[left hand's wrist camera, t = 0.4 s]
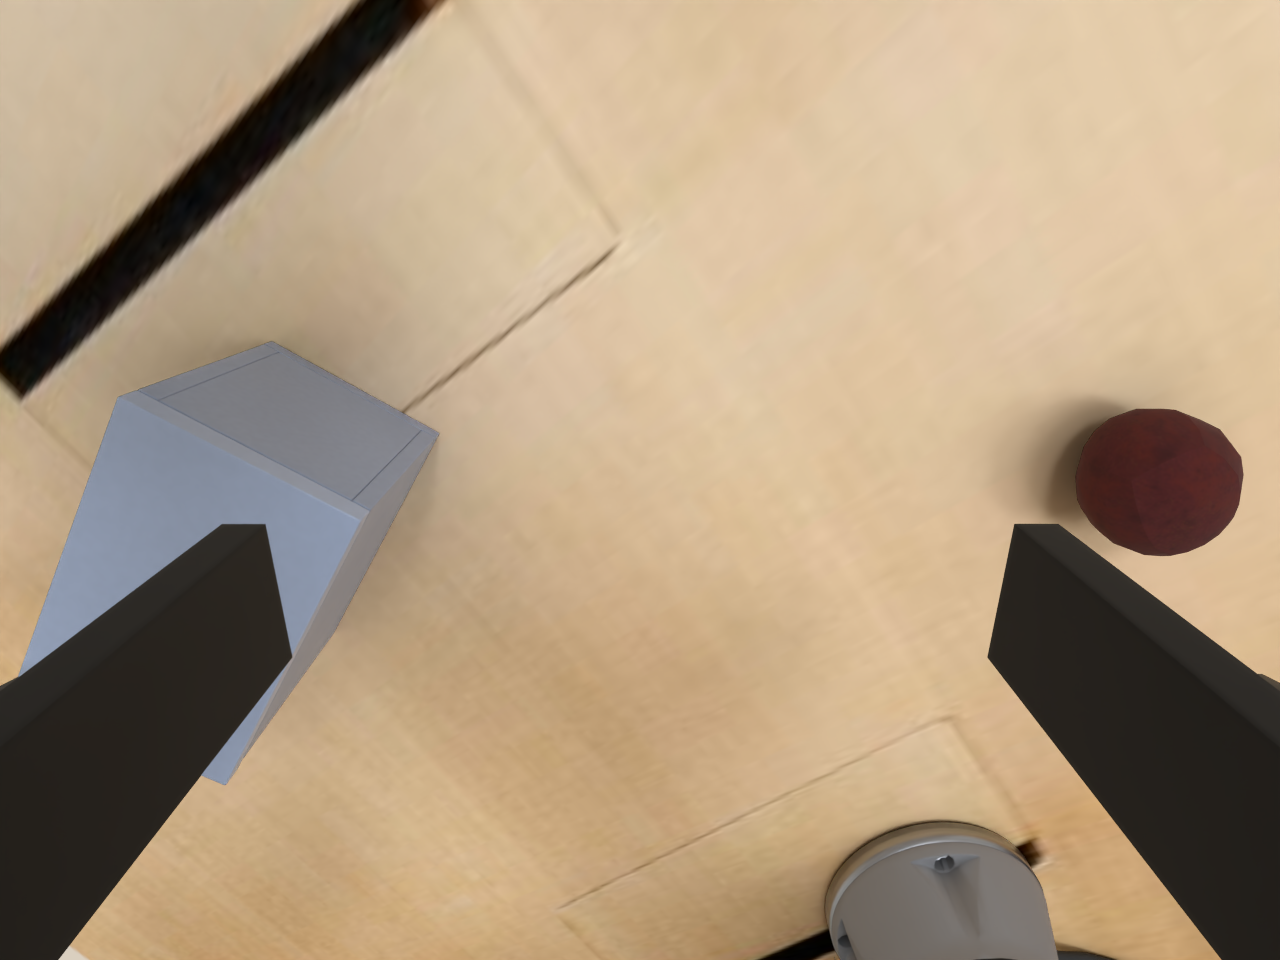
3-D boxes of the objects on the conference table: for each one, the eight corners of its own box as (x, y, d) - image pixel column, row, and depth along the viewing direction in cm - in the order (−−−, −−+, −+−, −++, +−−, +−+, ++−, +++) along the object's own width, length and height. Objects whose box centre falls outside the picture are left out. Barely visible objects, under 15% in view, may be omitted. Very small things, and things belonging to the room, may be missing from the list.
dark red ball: (1078, 541, 43) (1158, 602, 36) (1026, 438, 40) (1101, 482, 34) (1199, 477, 41) (1306, 528, 35) (1153, 366, 39) (1258, 398, 32)
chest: (333, 633, 45) (242, 759, 35) (179, 559, 43) (34, 669, 33) (439, 433, 40) (371, 509, 30) (271, 340, 39) (137, 389, 28)
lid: (237, 769, 35) (112, 943, 27) (30, 680, 33) (-174, 837, 25) (370, 510, 30) (268, 624, 22) (136, 389, 28) (-73, 463, 20)
